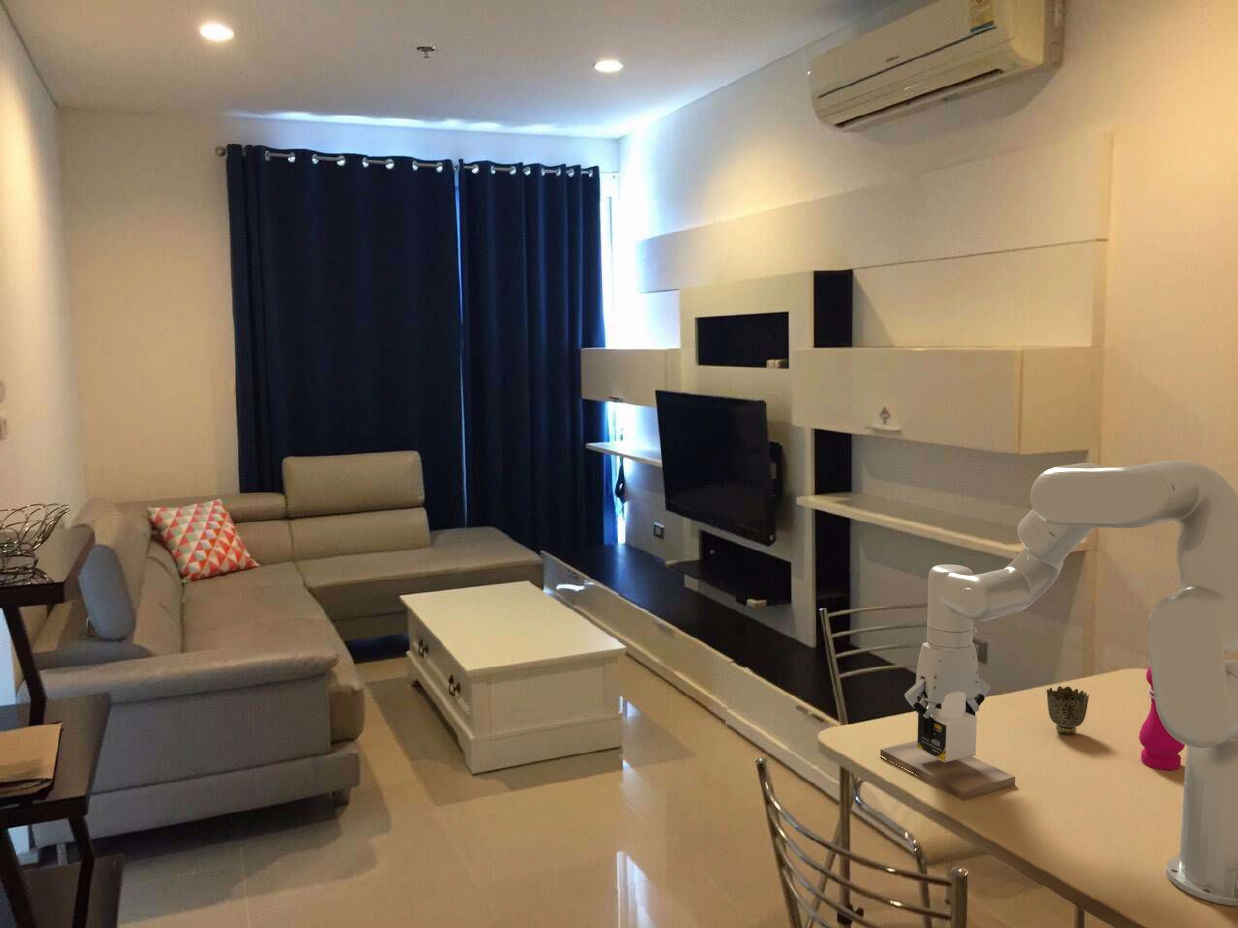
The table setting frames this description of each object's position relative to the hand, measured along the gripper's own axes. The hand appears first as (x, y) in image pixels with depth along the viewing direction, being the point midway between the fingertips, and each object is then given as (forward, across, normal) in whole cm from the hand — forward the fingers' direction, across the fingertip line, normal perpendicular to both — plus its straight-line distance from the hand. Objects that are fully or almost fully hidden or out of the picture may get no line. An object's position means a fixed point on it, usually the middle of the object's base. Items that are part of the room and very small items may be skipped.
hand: (946, 733), depth 181 cm
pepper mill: (+7, -38, +9) cm, 40 cm away
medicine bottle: (+4, 0, 0) cm, 4 cm away
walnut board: (+7, 0, 0) cm, 7 cm away
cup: (+7, -32, -8) cm, 34 cm away
